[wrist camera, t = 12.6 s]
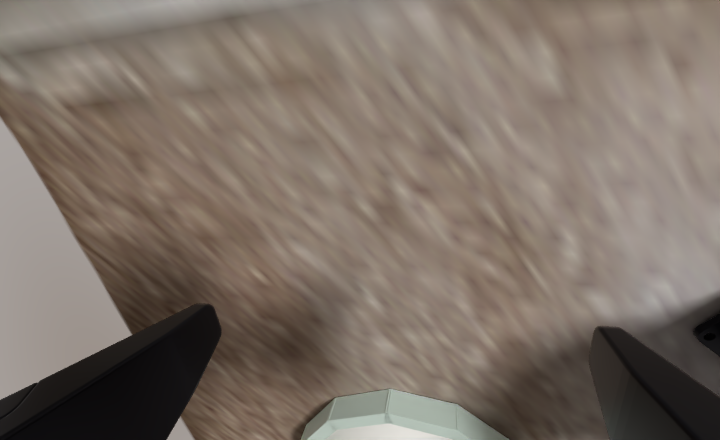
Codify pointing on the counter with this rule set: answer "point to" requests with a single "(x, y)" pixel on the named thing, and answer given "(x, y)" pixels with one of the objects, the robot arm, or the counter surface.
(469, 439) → the plate
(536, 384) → the counter surface
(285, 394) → the counter surface
